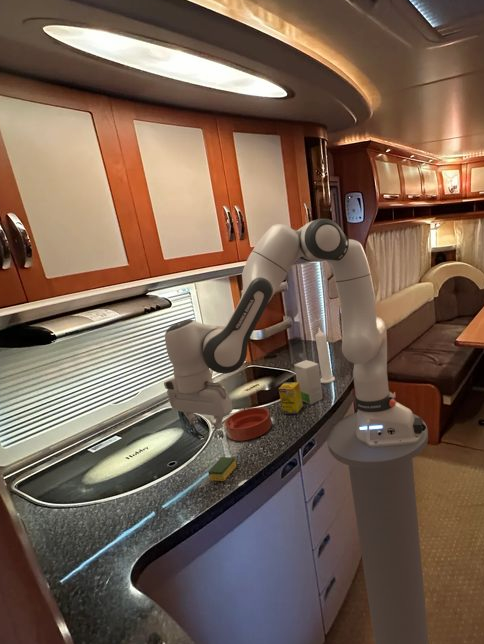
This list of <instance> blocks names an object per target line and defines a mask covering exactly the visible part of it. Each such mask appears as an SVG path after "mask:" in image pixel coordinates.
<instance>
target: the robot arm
mask: <svg viewBox="0 0 484 644" xmlns="http://www.w3.org/2000/svg"><path fill="white" fill-rule="evenodd" d="M299 259H301V260H303V261H306V262H323V261H326V262H327V263H328V264H329V266H330V267H331V268H330V269H331V271H332V273H333V274H332V275H333V278H334V283H335V288H336V292H337V297H338V301H339V307H340V318H341V334H342V335H341V336H342V340H341V341H342V342H341V353H342V355H343V357H344V358H345V359H346V360H347V361H348V362H349V363H351V364H353V370H352V378H353V386H354V393H355V395H354V404H355V405H354V407H355V411H356V412H357V430H356V436H357V438H358V439H359V440H361V441H363V442H365V443H366V444H367V445H368V446H369V447H383V446H394V445H405V444H415V443H417V442H418V441H419V440H420V439H421V437H422V433H423V431H424V430H425V429H426V426H427V425H426V426H425V425H424V424H423V421H424V420H423V417H420V418H414V415H413V414H414V413H413V411H412V410H411V408H409V407H407V406H405V405H403V404H401V403H400V402H398V401H397V397H396V391H394V392H392V391H390V387H389V379H388V337H387V335H388V332H387V331H388V330H387V329H388V328H387V324H386V323H385V321H384V320H383V319H382V318H381V317H379V316H377V311H376V309H377V307H376V306H377V305H376V302H377V297H376V292H375V288H374V283H373V278H372V273H371V269H370V264H369V261H368V259H367V255H366V252H365V249H364V248H363V245H362V244H361V242H360V241H358V240H356V239H350V238H348V236H347V235H346V234H345V233H344V231H343V230H342V228H341V227H340V225H339V224H337V222H335V221H333V220H331V219H330V218H329V219H328V218H317V219H314V220H311V221H309V222H307V223H305V224H304V225H303V226H301V227H300V228H298V229H293V228H292V227H291V226H288V225H286V224H282V223H275V224H273V225H271V226H270V227H269V228H268V229H267V230H266V231H265V233H264V234H263V235H262V236H261V238H260V239H259V240H258V241H257V243H256V244H255V246H254V247H253V249H252V251H251V252H250V254H249V255H248V257H247V259H246V262H245V264H244V267H243V270H242V272H241V280H242V293H241V297H240V298H239V299H240V300H239V301H238V303H237V306H236V307H235V309H234V311H233V313H232V314H231V316H230V318H229V319H228V321H227V323H226V325H225V326H224V325H211V324H205V323H201V322H198V321H195V320H194V319H186V320H182V321H181V320H180V321H178V322H177V323H174V324H172V325H171V326H169V327H168V328H167V330H166V331H165V333H164V342H165V348H166V353H167V356H168V360H169V361H170V363H171V364H172V368H173V377H172V378H169V379H168V380H165V381H164V382H163V386H164V388H165V390H166V391H167V392H166V394H167V398H168V401H169V405H170V406H171V408H172V409H173V410H174V411H177V412H182V413H183V414H184V417H186V419H187V420H188V422H189V425H190V426H196V425H198V424H199V419H198V416H195V414H197V415H206V416H210V417H211V416H212V417H213V418H214V420H215V422H214V423H213V429H215V430H221V429H222V428H223V427H224V423H223V419H224V418H225V417H226V416H228V415H229V414H230V413H232V412H233V409H234V407H233V404H232V403H233V402H232V400H231V398H230V395H229V393H228V391H227V389H226V388H225V387H224V386H223V385H222V384H221V383H220V382H216V381H215V382H214V381H213V376H212V373H211V371H213V372H215V373H217V374H225V375H226V374H231V373H234V372H236V371H237V370H239V369H240V368H241V367H242V366H244V363H245V361H246V359H247V355H248V347H249V346H248V345H249V341H250V339H251V336H252V334H253V332H254V331H255V328H256V326H257V324H258V323H259V322H260V319H261V318H262V316H263V313H264V312H265V310H266V308H267V306H268V304H269V303H270V301H271V300H272V298H273V297H274V294H275V293H276V292H277V290H278V289H279V288H280V286H281V285H282V284H283V282H284V280H285V279H286V278H287V276H288V274H289V272H290V270H291V268H292V266H293V265H294V263H295V262H296V261H298V260H299Z"/></svg>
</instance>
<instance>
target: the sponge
mask: <svg viewBox="0 0 484 644" xmlns="http://www.w3.org/2000/svg"><path fill="white" fill-rule="evenodd" d="M236 468H237V462H236V458H235V457H233V456H232V457H228V456H227V457H226V456H222V457H220V458H219V459H218V460H217V461H216V462H215V463H214V465H212V467H211V468H210V469H208V470H207V474H208V476H209V479H210V480H209V481H213V482H214V481H215V482H216V481H217V482H225V481H226V480H227V479H228V477H229V476H230V474H231V473H232V472H234V470H235V469H236Z"/></svg>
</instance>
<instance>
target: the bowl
mask: <svg viewBox="0 0 484 644" xmlns="http://www.w3.org/2000/svg"><path fill="white" fill-rule="evenodd" d="M224 426H225V429H226V434H227V437H228V438H229V439H230V440H232V441H240V442H241V441H248V440H252V439H256V438H258V437H261V436H263V435H264V434H266V433H267V432H269V431H270V429H271V428H272V426H273V422H272V417H271V412H270V411H269V409H268V408H265V407H260V406H259V407H257V406H256V407H250V408H245V409H241V410H238V411H237V412H234V413H232V414H231V415H230V416H228V417H227V418H226V420H225V421H224Z"/></svg>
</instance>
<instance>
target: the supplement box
mask: <svg viewBox="0 0 484 644" xmlns="http://www.w3.org/2000/svg"><path fill="white" fill-rule="evenodd" d="M278 393H279V399H280V404H281V409H282V414H283V415H297V416H298V415H299V414H300V412H301V411H302V410H303V409H304V405H303V401H302V398H301V392H300V386H299V382H297V381H296V382H288V381H286V382H284V383H282V384H281V385H280V387H278Z"/></svg>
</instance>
